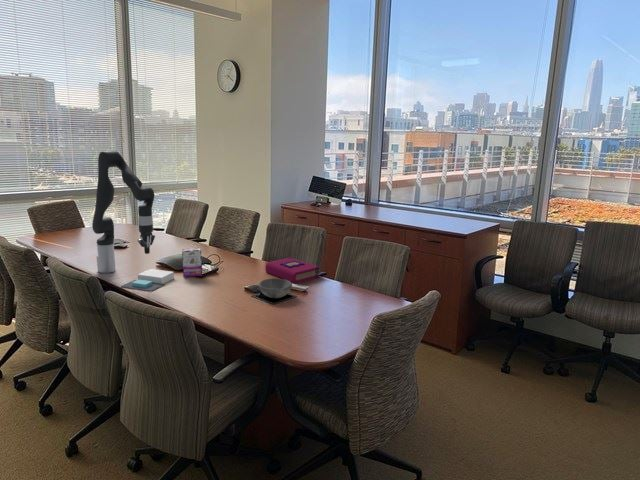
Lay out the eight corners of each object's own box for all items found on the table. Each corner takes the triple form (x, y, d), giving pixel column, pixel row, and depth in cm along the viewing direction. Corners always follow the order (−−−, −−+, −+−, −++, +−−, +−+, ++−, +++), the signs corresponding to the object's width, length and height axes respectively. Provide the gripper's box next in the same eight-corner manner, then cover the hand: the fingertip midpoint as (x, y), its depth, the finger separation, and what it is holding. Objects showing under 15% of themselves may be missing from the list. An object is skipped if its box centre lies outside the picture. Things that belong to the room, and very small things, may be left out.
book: (294, 284, 280) (294, 272, 278) (265, 273, 300) (265, 261, 298) (320, 277, 294) (320, 265, 293) (290, 267, 314) (290, 256, 312)
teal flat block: (138, 279, 271) (138, 282, 272) (131, 282, 266) (132, 285, 266) (152, 281, 269) (152, 284, 269) (145, 284, 263) (145, 288, 264)
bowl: (255, 292, 264) (255, 278, 262) (285, 289, 270) (286, 276, 268) (263, 303, 248) (263, 289, 246) (295, 300, 254) (295, 286, 252)
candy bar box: (202, 273, 293) (201, 248, 289) (202, 276, 289) (201, 250, 285) (183, 274, 290) (182, 248, 286) (183, 277, 286) (182, 250, 282)
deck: (138, 281, 276) (137, 274, 275) (150, 275, 287) (150, 268, 286) (161, 284, 272) (161, 277, 271) (174, 278, 283) (173, 271, 282)
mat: (120, 287, 265) (120, 286, 265) (134, 280, 276) (134, 279, 276) (151, 291, 260) (151, 290, 260) (164, 285, 271) (164, 284, 271)
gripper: (147, 220, 272) (148, 249, 276) (132, 225, 260) (133, 255, 264) (158, 221, 270) (160, 251, 274) (143, 226, 258) (145, 257, 262)
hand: (147, 253), depth 269 cm, fingers closed
